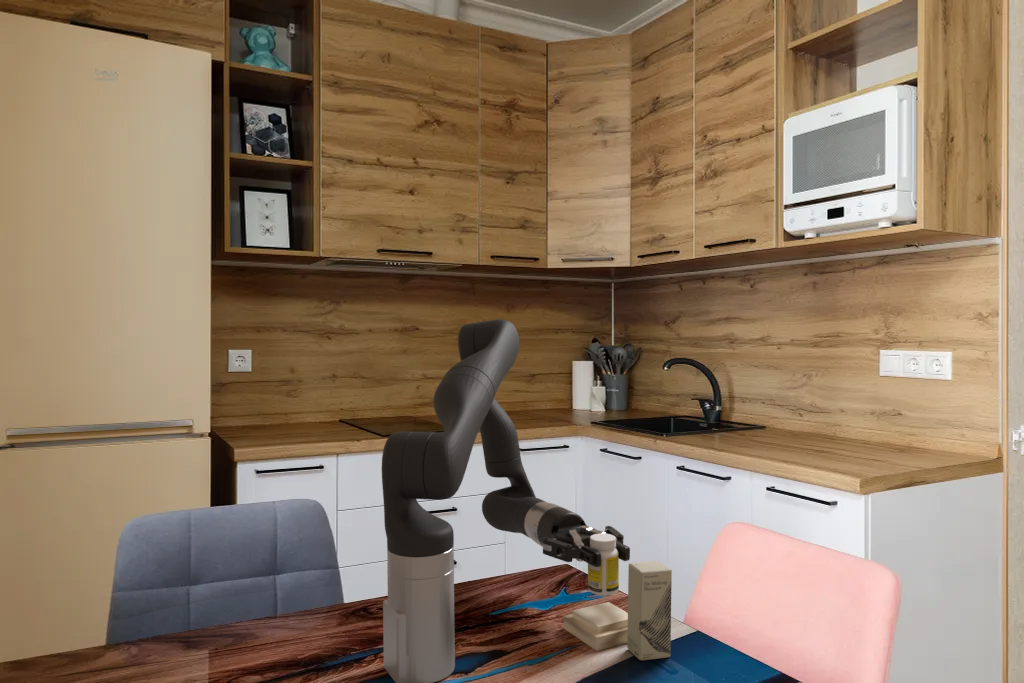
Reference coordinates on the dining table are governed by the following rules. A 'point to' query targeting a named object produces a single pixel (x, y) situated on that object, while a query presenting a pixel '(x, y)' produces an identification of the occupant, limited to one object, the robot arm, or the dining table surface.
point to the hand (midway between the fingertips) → (613, 557)
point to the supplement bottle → (604, 566)
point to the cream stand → (598, 625)
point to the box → (649, 610)
